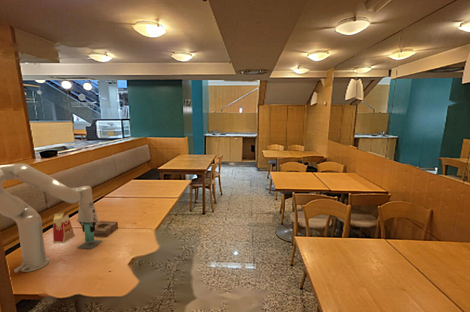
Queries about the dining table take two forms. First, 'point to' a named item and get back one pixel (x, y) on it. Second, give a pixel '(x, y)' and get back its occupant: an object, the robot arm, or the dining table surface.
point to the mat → (89, 244)
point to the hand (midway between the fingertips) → (89, 230)
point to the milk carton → (62, 228)
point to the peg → (88, 232)
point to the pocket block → (105, 228)
